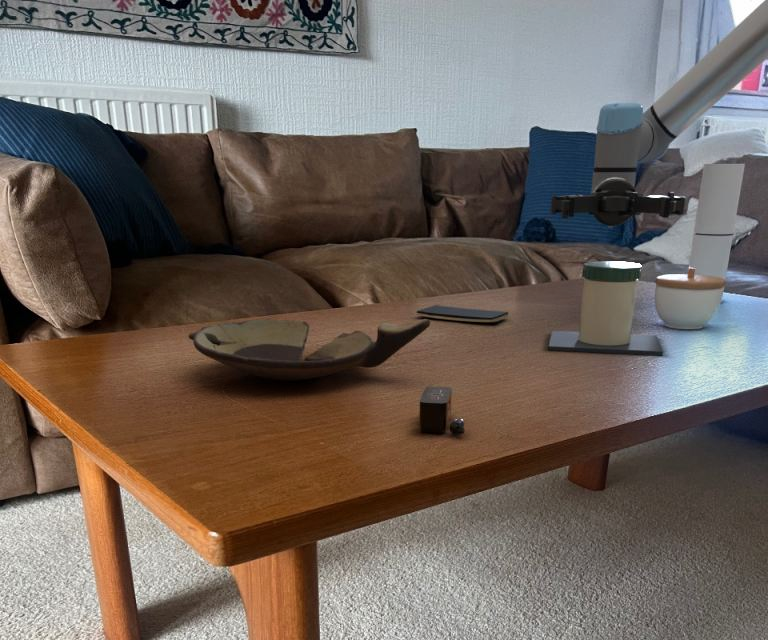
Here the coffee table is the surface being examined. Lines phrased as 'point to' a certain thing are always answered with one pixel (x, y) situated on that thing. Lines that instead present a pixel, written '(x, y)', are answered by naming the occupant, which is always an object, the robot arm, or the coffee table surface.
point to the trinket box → (687, 299)
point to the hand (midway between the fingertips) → (618, 207)
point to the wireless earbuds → (438, 411)
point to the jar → (607, 312)
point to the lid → (612, 271)
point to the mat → (636, 346)
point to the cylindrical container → (716, 219)
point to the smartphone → (462, 314)
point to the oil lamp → (298, 348)
